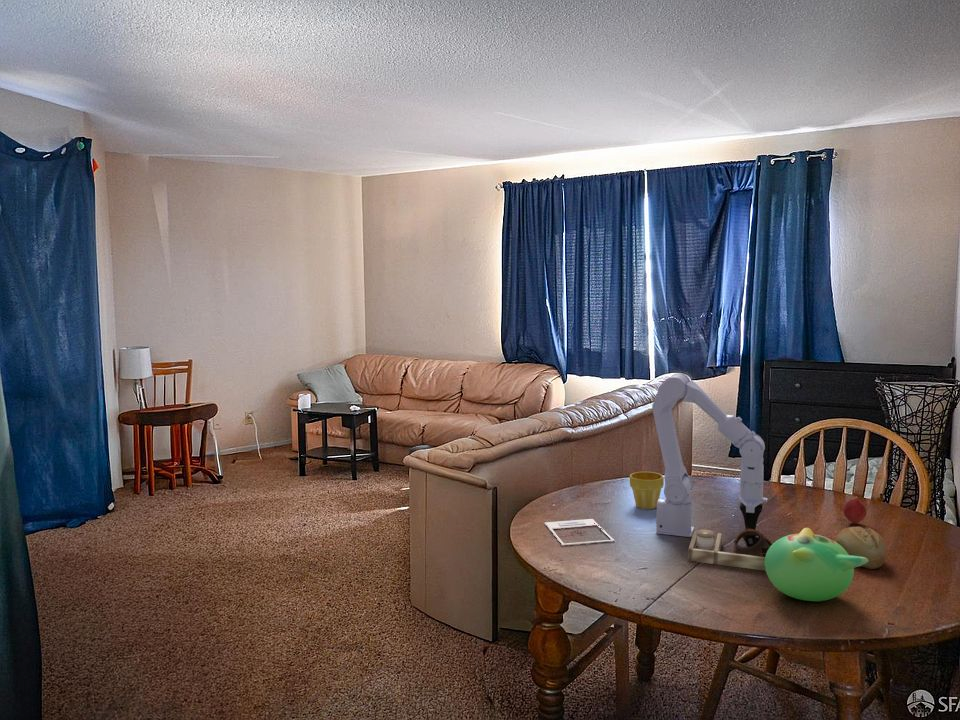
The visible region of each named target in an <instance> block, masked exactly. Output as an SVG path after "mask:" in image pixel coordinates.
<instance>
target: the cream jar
mask: <svg viewBox="0 0 960 720" xmlns="http://www.w3.org/2000/svg"><path fill="white" fill-rule="evenodd" d="M696 531H697V533H696V534H697V547H696V549H702V550H711V551H714V542H715V541H714V537H715V532H714V531H712V530H710V529H698V530H696Z"/></svg>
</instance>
